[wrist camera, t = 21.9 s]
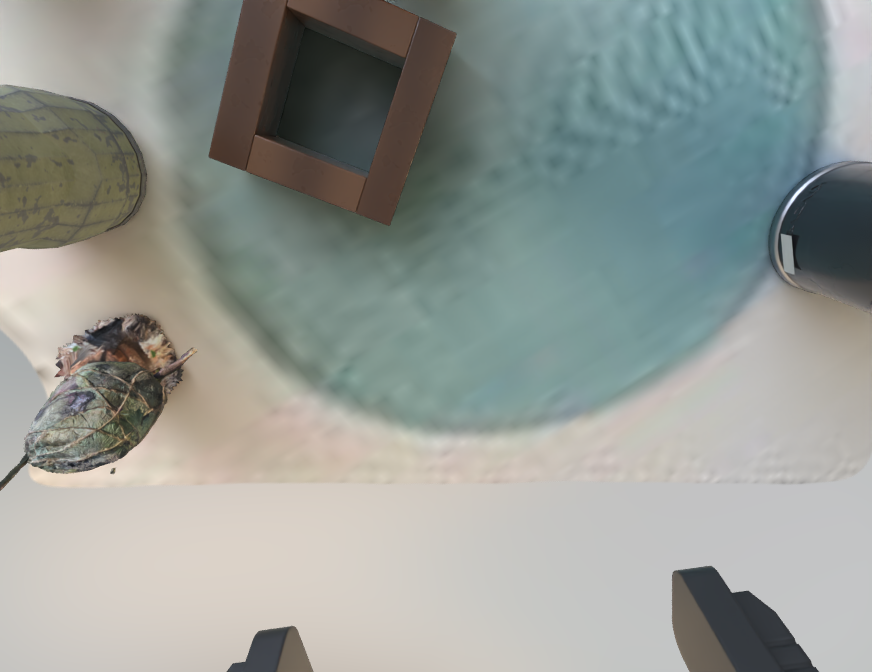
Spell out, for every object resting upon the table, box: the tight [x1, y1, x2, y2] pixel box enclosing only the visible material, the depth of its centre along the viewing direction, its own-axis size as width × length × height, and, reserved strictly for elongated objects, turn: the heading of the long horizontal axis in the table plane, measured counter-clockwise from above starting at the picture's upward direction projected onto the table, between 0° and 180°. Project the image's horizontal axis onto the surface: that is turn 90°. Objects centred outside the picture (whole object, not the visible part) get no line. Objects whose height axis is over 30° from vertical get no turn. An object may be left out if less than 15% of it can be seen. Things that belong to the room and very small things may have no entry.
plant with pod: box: [0, 313, 197, 490], centre depth 30 cm, size 8×11×20 cm
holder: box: [209, 0, 457, 226], centre depth 31 cm, size 11×11×5 cm
